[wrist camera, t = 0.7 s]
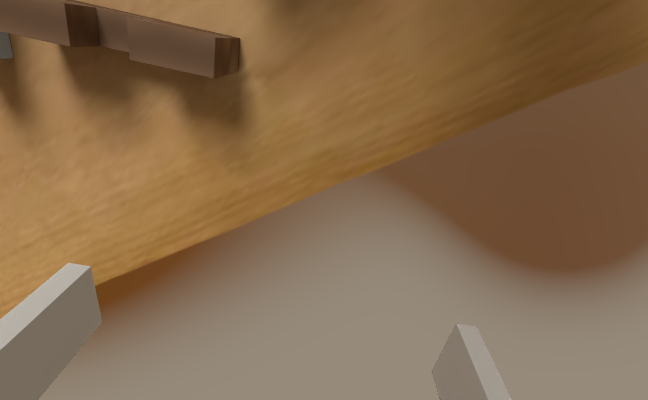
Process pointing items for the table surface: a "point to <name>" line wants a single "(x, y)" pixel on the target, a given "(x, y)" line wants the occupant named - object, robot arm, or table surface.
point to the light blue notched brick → (5, 46)
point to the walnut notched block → (122, 35)
